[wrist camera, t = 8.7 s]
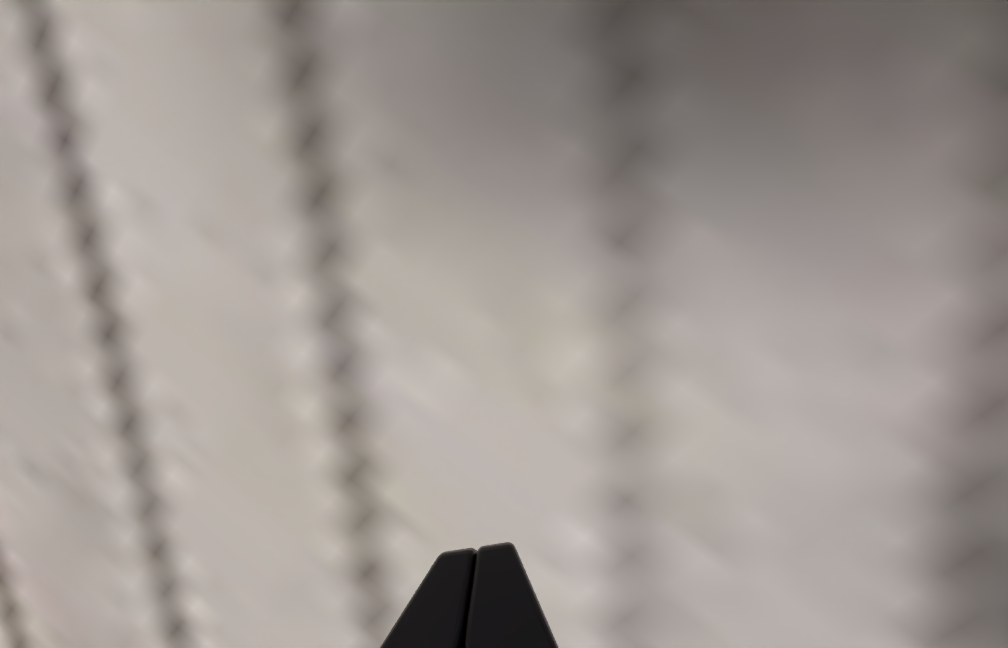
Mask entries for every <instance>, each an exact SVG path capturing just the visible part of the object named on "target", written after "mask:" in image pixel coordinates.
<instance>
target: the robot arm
mask: <svg viewBox="0 0 1008 648" xmlns="http://www.w3.org/2000/svg"><path fill="white" fill-rule="evenodd" d="M380 648H558V645H557V643H556V641H555V639H554V636H553V634H552V632H551V629H550V627H549V625H548V622H547V620H546V618H545V615H544V613H543V611H542V608H541V606H540V604H539V601H538V599H537V597H536V594H535V592H534V590H533V587H532V585H531V583H530V580H529V578H528V576H527V574H526V571H525V569H524V567H523V564H522V562H521V560H520V557H519V555H518V553H517V550H516V548H515V546H514V545H513V544H512V543H510V542H506V543H500V544H493V545H486V546H482V547H480V548H479V549H478V551H477V550H475V549H473V548H467V549H460V550H454V551H447V552H444V553H442V554H441V555H439V556H438V558H437V559H436V561H435V562H434V564H433V565H432V567H431V568H430V570H429V572H428V573H427V575H426V576H425V578H424V579H423V581H422V583H421V584H420V586H419V587H418V589H417V591H416V592H415V594H414V595H413V597H412V598H411V600H410V602H409V603H408V605H407V606H406V608H405V609H404V611H403V613H402V614H401V616H400V617H399V619H398V620H397V622H396V624H395V625H394V627H393V628H392V630H391V631H390V633H389V635H388V636H387V638H386V639H385V641H384V642H383V644H382V646H381V647H380Z"/></svg>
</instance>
